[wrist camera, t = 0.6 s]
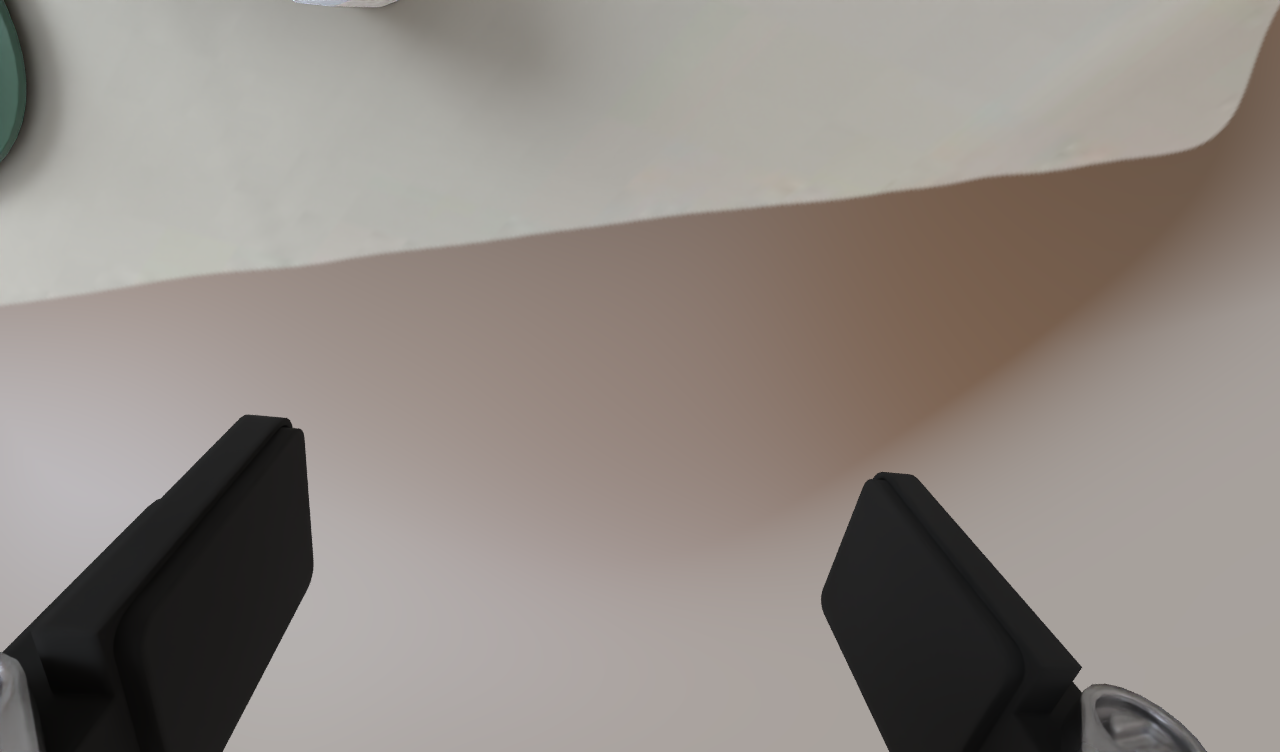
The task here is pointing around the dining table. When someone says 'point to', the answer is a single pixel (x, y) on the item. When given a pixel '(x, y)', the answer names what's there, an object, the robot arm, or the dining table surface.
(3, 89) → the lid
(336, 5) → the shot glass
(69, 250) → the dining table surface
